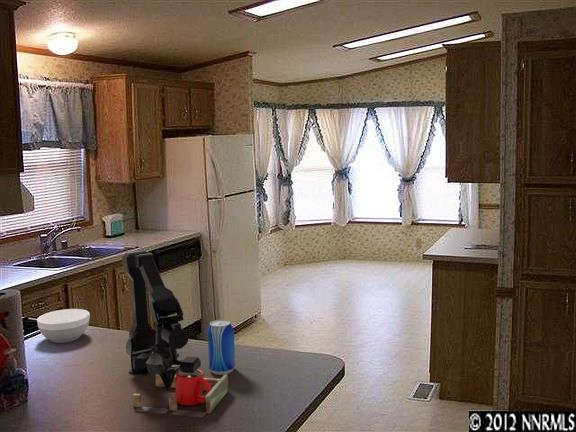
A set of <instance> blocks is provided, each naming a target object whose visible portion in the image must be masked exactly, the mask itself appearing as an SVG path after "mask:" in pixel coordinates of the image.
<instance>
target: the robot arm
mask: <svg viewBox="0 0 576 432" xmlns="http://www.w3.org/2000/svg"><path fill="white" fill-rule="evenodd" d="M155 262H156V261H155V256H154V254H153V253H152V252H147V250H145V249H143V250H135V251H127V252H125V253H124V255H123V256H122V257H121V263H122V264H121V265H122V267H123V269H124V272H125V274H126V275H127V277H129V279H130V291H131V303H132V318H133V320H132V321H133V324H132V325H131V328H130V329H129V331H128V332H129V333H128V334H129V337H128V339H127V342H126V344H125V350H126V351H125V352H126V354H127V355H128V356H129V357H130V366H131V370H129V371H128V373H129V374H134V375H137V374H138V375H148V374H149V373H150V374H152V373H154V374H155V373H156V374H159V375H160V377H161V379H162V381H163V383H164V385H165V387H164V388H165V391H166V392H170V391H171V385H172V382H173V379H174V377H175V375H176V372H177V371H179V370H181V371H182V372H184V373H194V372H195V371H196V370H197V369H199V368H201V367H202V366H201V365H202V363H201V361H202V360H201V359H200V358H199V357H198V356H186V357H185V358H184V359H180V358H179V357H180V353H178V352H177V350H180V349H182V348H184V347H185V346H186V345H187V344H188V342H189V334H188V332H187V330H186V329H184V328H182V324H181V323H180V322H181V321H184V312H183V309H182V307H181V304H180V302H179V300H178V298H176V296H175V294H174V292H173V291H172V290H171V289H169V288H167V287H166V285H165V283H164V281H163V279H162V276H161V274H160V272H159V270H158V267H157V265H156V263H155ZM147 290H148V293H149V295H150V296H149V297H150V300H149V304H148V296H147ZM148 305H149V308H148ZM148 309H149V310H148ZM149 313H150V315H151V317H152V319H153V322H154V326H155V327H154V328H153V327H152V325H151V324H150V322H149ZM178 358H179V359H178Z"/></svg>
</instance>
